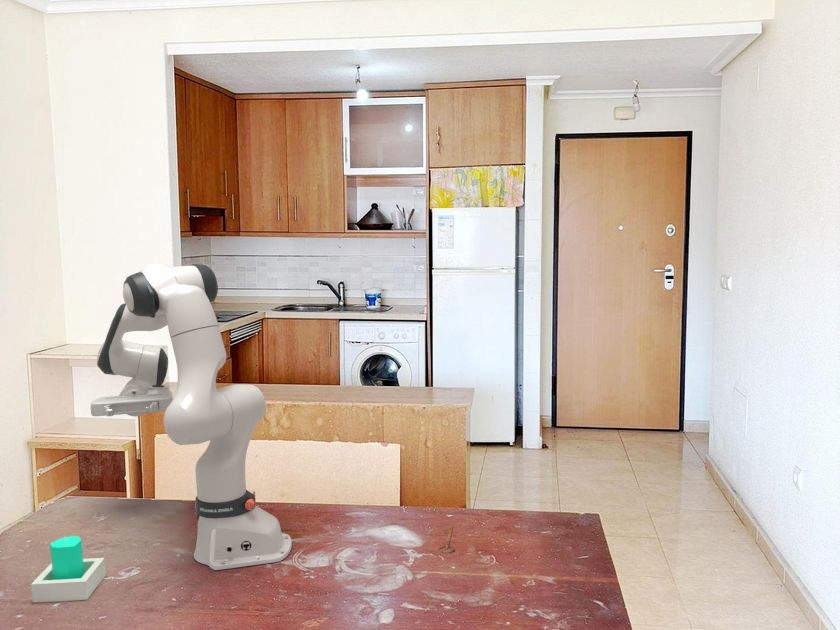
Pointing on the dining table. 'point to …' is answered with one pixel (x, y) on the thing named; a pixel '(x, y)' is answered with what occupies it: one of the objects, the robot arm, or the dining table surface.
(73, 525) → the dining table surface
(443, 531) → the key
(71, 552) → the candle
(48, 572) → the frame
